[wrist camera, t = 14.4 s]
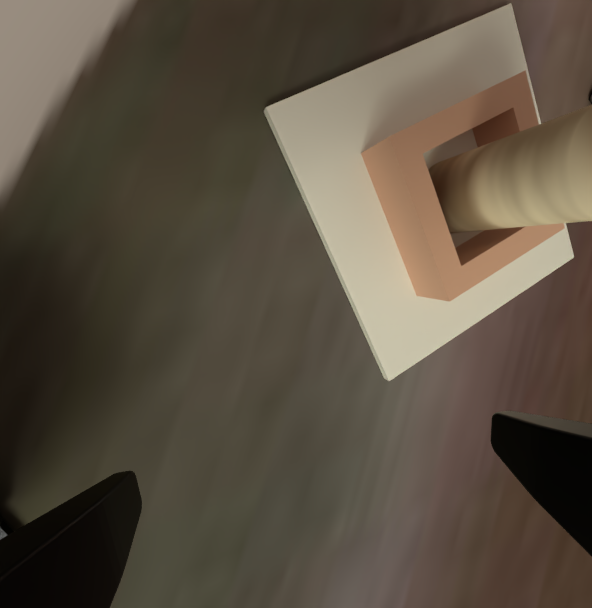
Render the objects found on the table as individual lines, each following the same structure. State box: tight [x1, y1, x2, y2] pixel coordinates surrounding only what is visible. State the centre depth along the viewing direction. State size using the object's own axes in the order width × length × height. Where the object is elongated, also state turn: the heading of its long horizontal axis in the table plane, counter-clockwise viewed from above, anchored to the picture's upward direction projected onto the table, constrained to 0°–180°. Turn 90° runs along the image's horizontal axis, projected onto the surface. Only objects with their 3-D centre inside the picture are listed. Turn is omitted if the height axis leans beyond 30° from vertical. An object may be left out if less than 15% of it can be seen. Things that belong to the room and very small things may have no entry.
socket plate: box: [264, 3, 574, 381], centre depth 21 cm, size 18×18×4 cm
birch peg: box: [428, 105, 592, 233], centre depth 18 cm, size 5×5×9 cm
